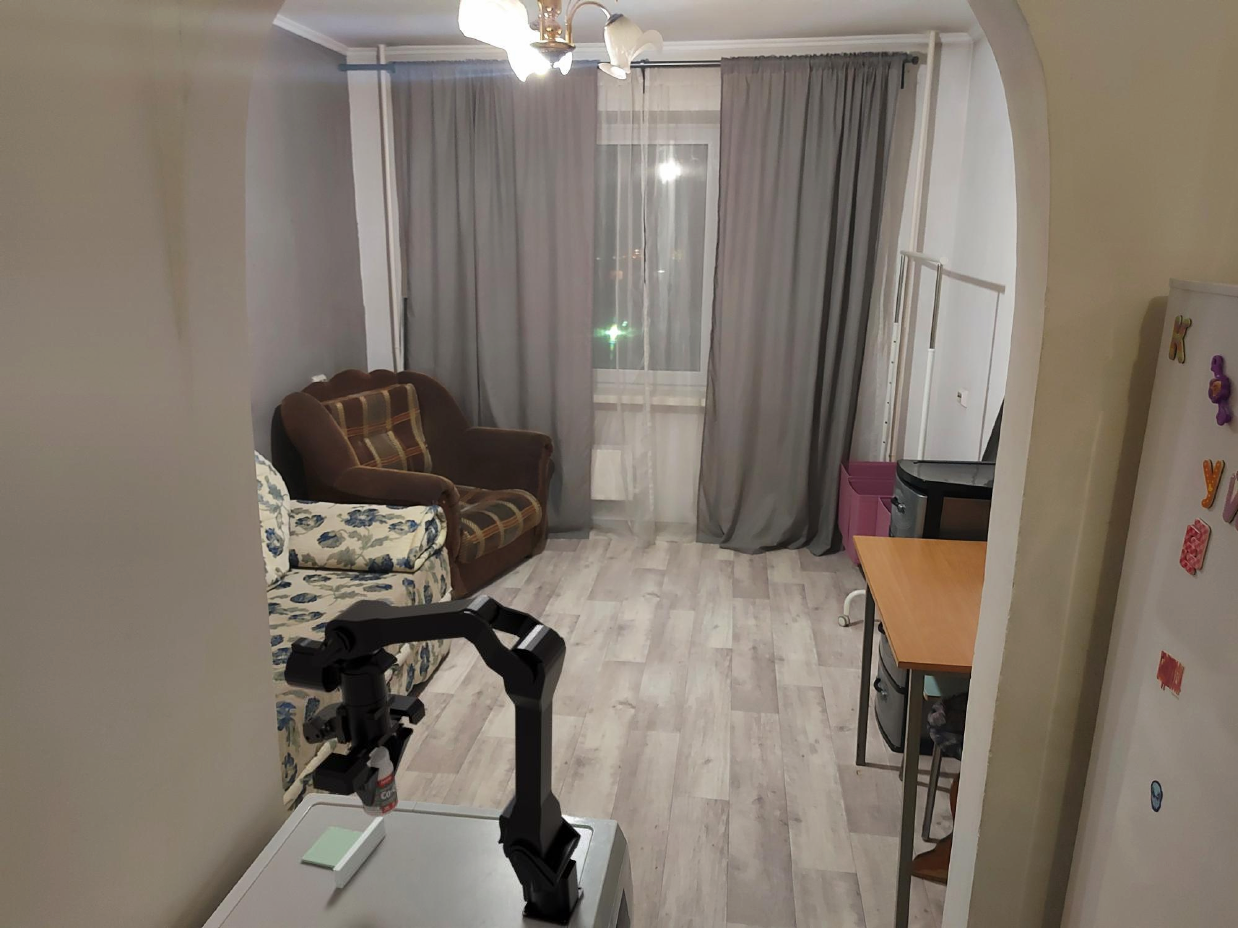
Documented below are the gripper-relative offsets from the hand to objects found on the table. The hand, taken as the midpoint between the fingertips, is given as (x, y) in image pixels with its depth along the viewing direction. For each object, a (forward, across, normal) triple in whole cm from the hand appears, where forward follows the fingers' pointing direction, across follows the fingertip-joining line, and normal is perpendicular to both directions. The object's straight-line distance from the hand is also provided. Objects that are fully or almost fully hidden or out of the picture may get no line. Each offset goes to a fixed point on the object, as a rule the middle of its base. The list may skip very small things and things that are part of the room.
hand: (379, 793), depth 118 cm
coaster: (+12, -1, -10) cm, 16 cm away
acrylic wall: (+12, 0, -5) cm, 13 cm away
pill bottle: (+2, 0, 0) cm, 2 cm away
